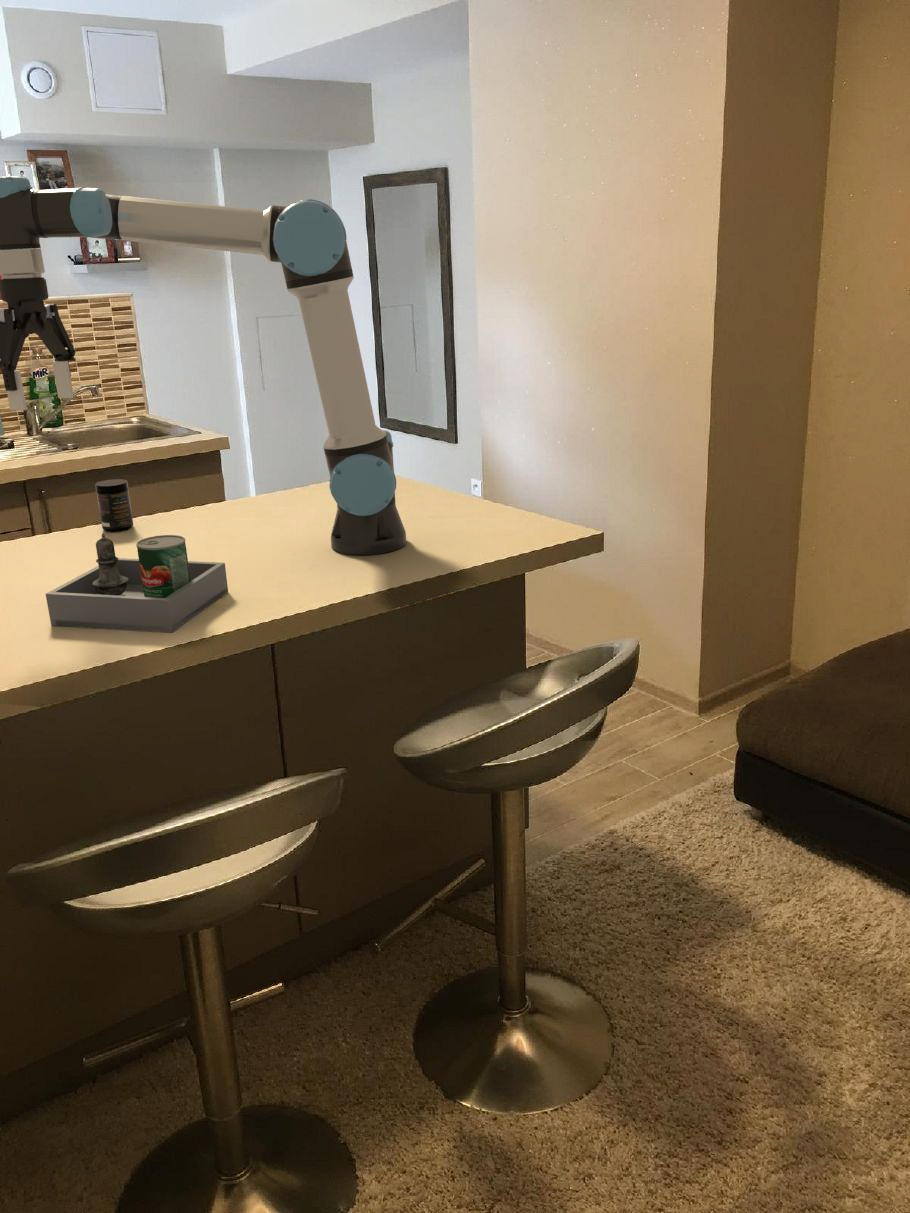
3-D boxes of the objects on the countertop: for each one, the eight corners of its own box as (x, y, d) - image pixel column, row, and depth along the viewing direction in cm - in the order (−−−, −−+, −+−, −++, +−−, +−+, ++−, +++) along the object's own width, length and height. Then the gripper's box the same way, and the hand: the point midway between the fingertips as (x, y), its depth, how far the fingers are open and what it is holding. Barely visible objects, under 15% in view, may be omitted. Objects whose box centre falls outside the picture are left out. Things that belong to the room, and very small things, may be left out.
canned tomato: (199, 595, 175) (191, 534, 171) (185, 611, 167) (176, 547, 163) (154, 596, 175) (146, 535, 171) (138, 612, 168) (128, 548, 164)
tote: (228, 592, 179) (224, 562, 177) (172, 633, 161) (167, 600, 159) (117, 586, 184) (113, 557, 182) (51, 625, 166) (45, 593, 164)
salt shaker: (119, 607, 170) (109, 538, 166) (88, 605, 172) (77, 537, 168) (137, 596, 176) (127, 529, 172) (107, 594, 177) (96, 528, 173)
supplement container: (140, 526, 225) (134, 480, 221) (119, 534, 219) (111, 487, 216) (117, 523, 228) (110, 478, 224) (95, 531, 222) (88, 485, 218)
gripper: (47, 274, 183) (66, 393, 190) (-49, 280, 160) (-23, 415, 167) (83, 273, 181) (101, 393, 188) (-9, 279, 158) (16, 415, 165)
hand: (43, 404), depth 178 cm, fingers open, 13 cm apart
